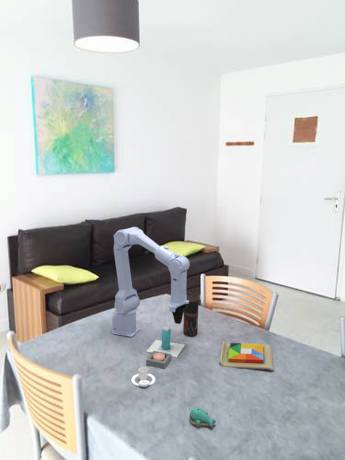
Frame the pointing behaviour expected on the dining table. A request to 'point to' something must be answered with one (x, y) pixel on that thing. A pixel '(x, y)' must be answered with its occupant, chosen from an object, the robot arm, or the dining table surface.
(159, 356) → the button
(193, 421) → the whale figurine
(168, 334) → the marker
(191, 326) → the deodorant
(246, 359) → the wooden puzzle
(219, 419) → the dining table surface
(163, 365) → the housing
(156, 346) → the pad
